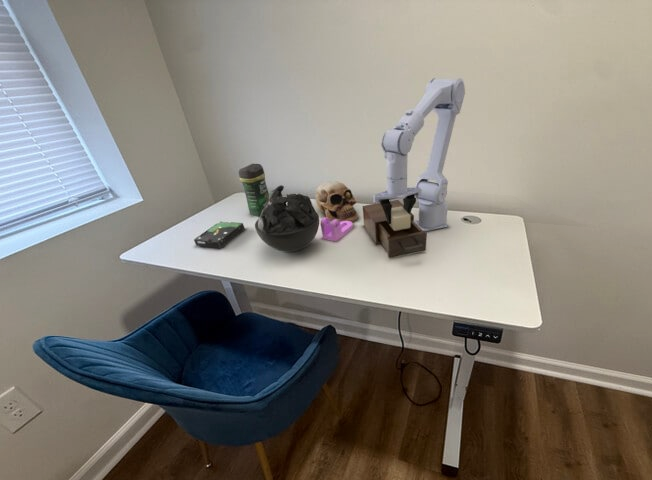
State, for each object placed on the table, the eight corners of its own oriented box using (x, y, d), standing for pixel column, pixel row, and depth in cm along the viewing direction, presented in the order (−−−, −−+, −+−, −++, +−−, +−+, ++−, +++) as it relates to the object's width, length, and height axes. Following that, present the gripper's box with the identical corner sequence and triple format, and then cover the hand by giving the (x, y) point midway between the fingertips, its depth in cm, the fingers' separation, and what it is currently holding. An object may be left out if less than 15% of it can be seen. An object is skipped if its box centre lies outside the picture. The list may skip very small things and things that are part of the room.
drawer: (432, 258, 96) (434, 239, 92) (394, 266, 93) (394, 247, 89) (409, 232, 110) (409, 215, 106) (375, 238, 107) (374, 221, 103)
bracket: (336, 241, 109) (333, 222, 104) (322, 238, 111) (319, 219, 107) (355, 225, 117) (354, 207, 113) (343, 223, 120) (340, 205, 115)
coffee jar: (263, 217, 127) (250, 169, 116) (247, 215, 130) (232, 168, 118) (277, 207, 135) (265, 162, 123) (261, 206, 137) (248, 161, 125)
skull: (355, 223, 119) (348, 187, 111) (312, 225, 123) (302, 191, 115) (364, 207, 131) (358, 174, 124) (325, 210, 135) (317, 178, 128)
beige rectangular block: (401, 218, 102) (401, 206, 100) (410, 227, 96) (410, 215, 94) (386, 220, 101) (385, 208, 98) (394, 230, 95) (393, 218, 93)
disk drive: (221, 249, 109) (245, 229, 120) (218, 242, 107) (243, 222, 118) (196, 246, 111) (221, 227, 122) (192, 239, 109) (219, 220, 120)
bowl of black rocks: (312, 265, 97) (300, 206, 86) (252, 262, 101) (233, 205, 89) (330, 234, 113) (322, 181, 101) (278, 232, 116) (264, 180, 105)
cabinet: (413, 236, 109) (414, 215, 104) (376, 244, 106) (374, 222, 101) (398, 220, 120) (398, 199, 115) (364, 226, 117) (362, 205, 112)
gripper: (377, 184, 85) (379, 230, 94) (426, 176, 88) (424, 222, 97) (369, 177, 91) (372, 221, 99) (416, 169, 94) (415, 213, 102)
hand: (397, 221), depth 98 cm, fingers closed on beige rectangular block, 5 cm apart
